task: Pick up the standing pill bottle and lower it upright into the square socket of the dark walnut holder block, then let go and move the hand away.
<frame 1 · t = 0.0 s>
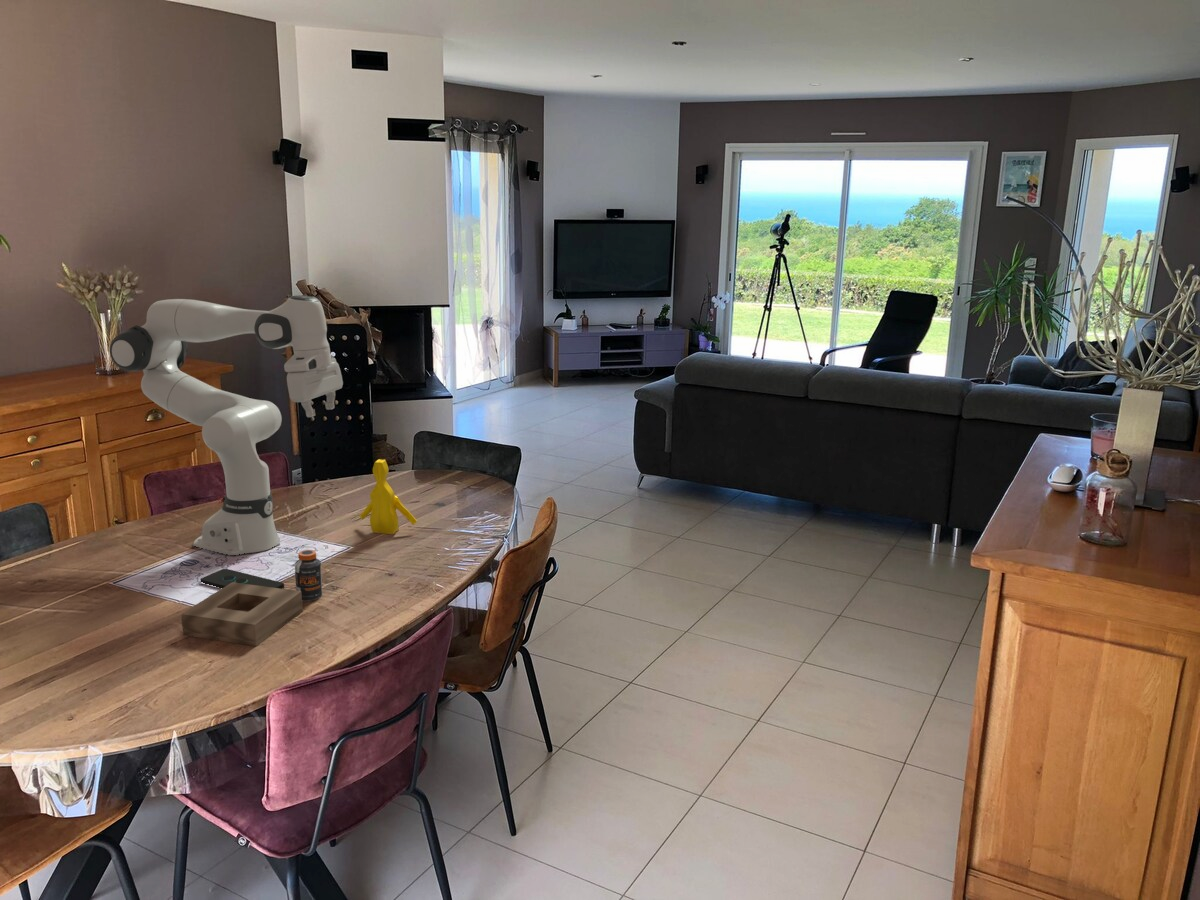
hand: (320, 412, 237), 39 cm above the table, tool pointing down, fingers open, 8 cm apart
smart home device: (242, 587, 226), on the table
pill bottle: (309, 597, 220), on the table
figure statuette: (386, 532, 264), on the table
walnut holder: (244, 622, 206), on the table
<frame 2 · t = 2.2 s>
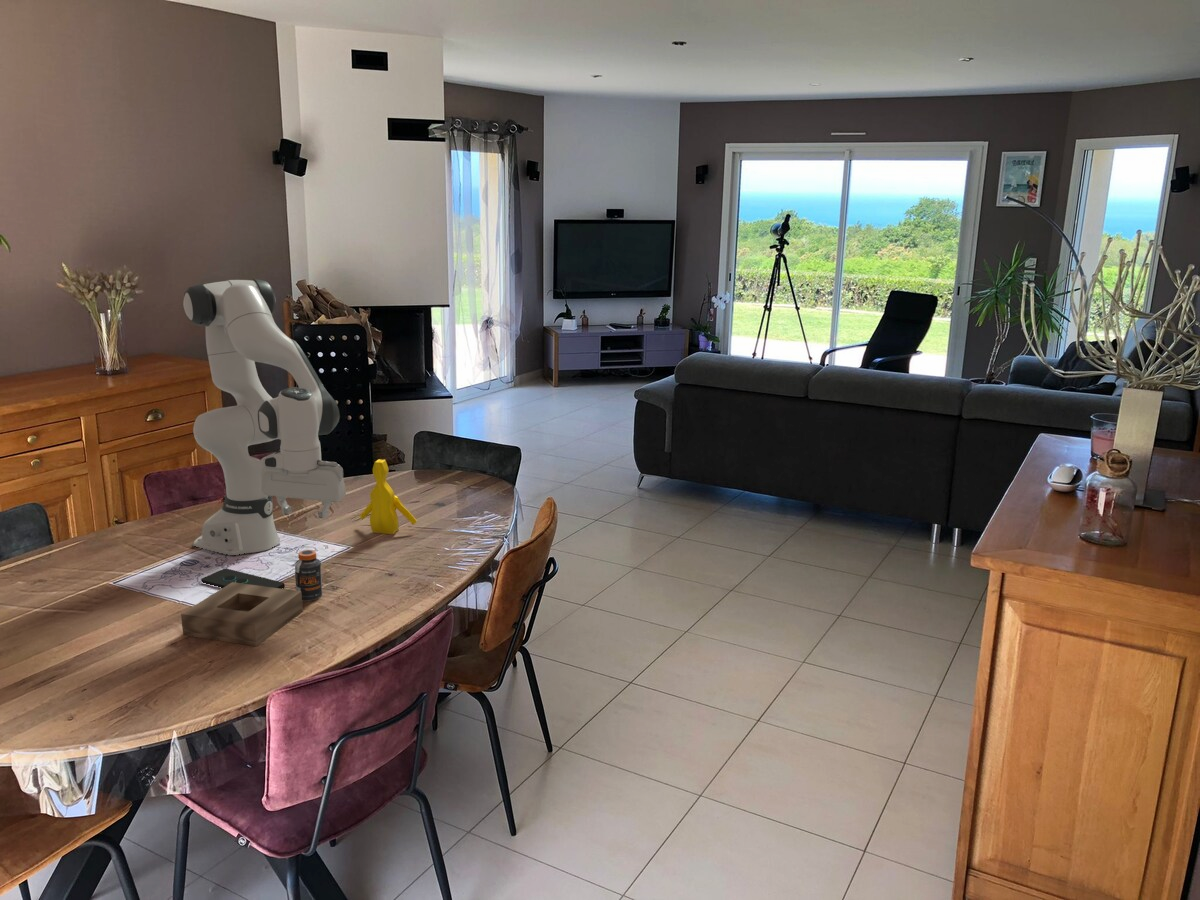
hand: (305, 516, 215), 20 cm above the table, tool pointing down, fingers open, 8 cm apart
nothing on the table moved.
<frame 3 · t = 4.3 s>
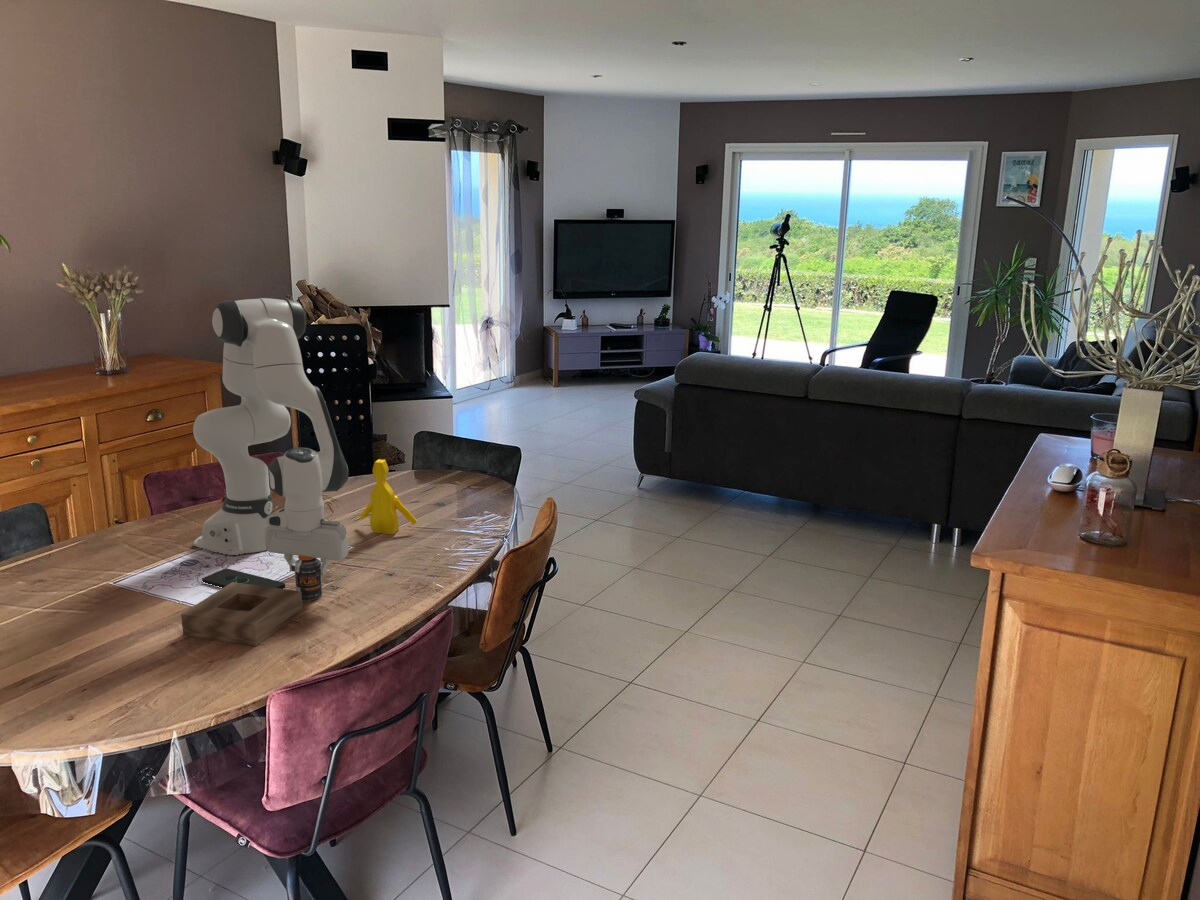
hand: (308, 572, 219), 6 cm above the table, tool pointing down, fingers closed on pill bottle, 6 cm apart
pill bottle: (309, 597, 220), on the table, touching gripper
everything else where it was.
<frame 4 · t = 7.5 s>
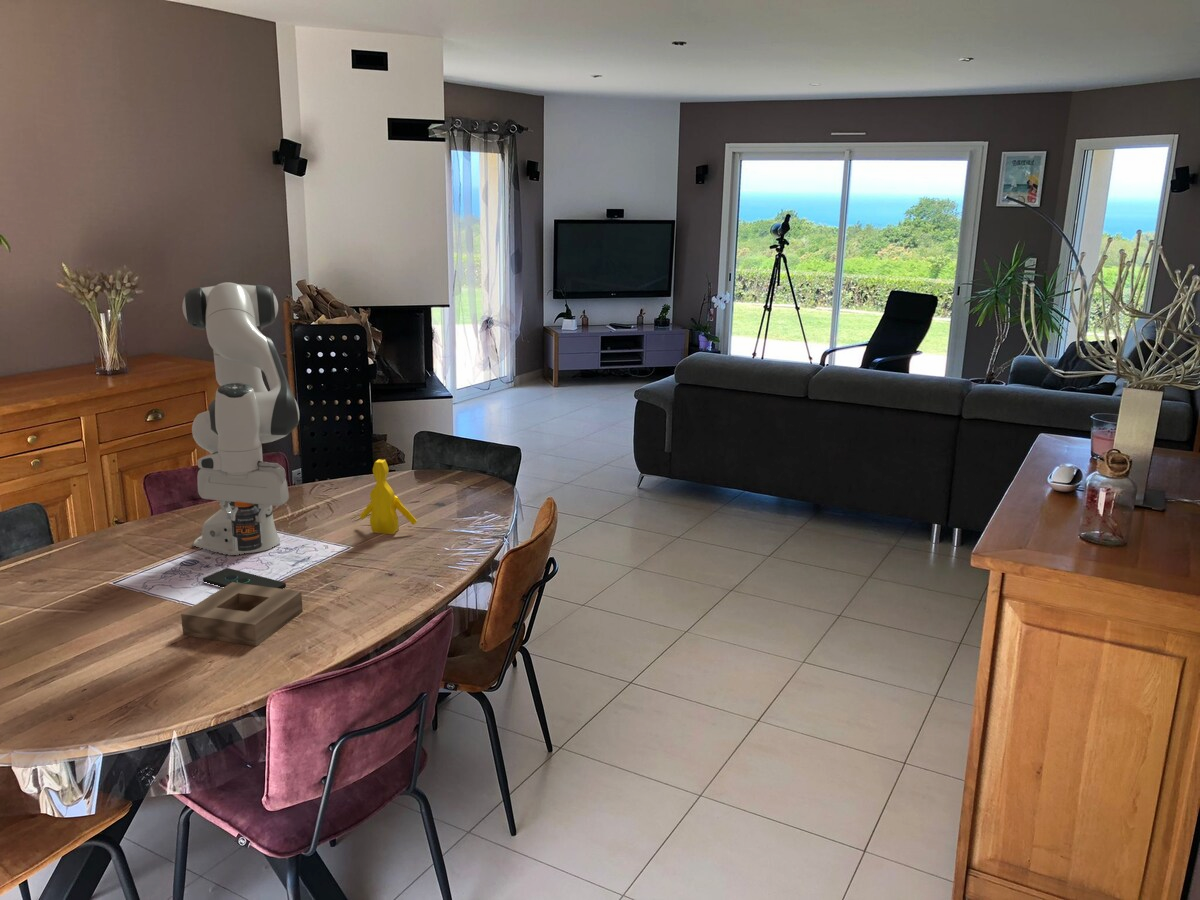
hand: (245, 520, 201), 24 cm above the table, tool pointing down, fingers closed on pill bottle, 6 cm apart
pill bottle: (248, 548, 203), point 17 cm above the table, touching gripper
everything else where it was.
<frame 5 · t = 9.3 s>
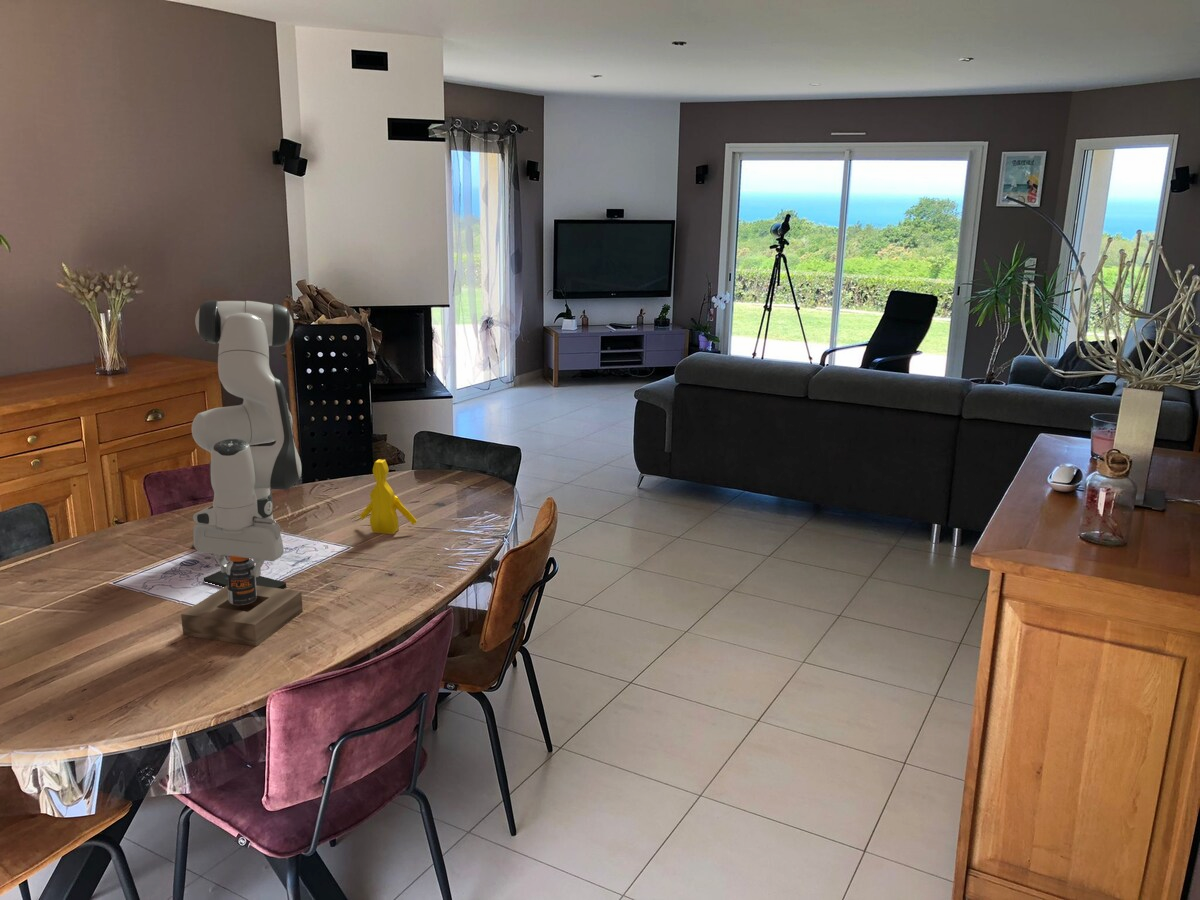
hand: (241, 574, 203), 12 cm above the table, tool pointing down, fingers closed on pill bottle, 6 cm apart
pill bottle: (243, 601, 204), point 5 cm above the table, touching gripper
everything else where it was.
when the fingers open (8 cm above the table, at t = 10.8 s): pill bottle drops 1 cm, resting on walnut holder.
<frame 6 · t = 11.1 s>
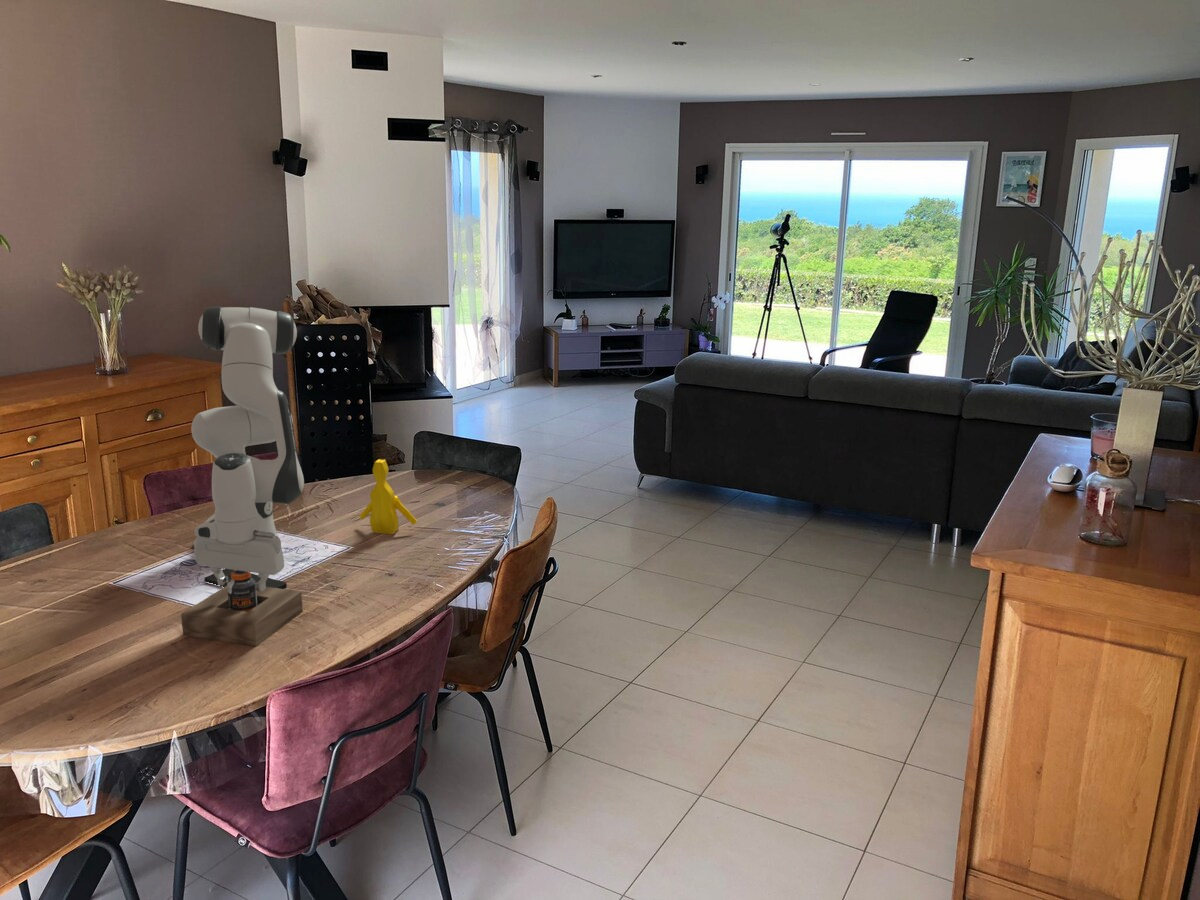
hand: (241, 587, 203), 9 cm above the table, tool pointing down, fingers open, 8 cm apart
pill bottle: (244, 619, 205), point 1 cm above the table, touching walnut holder
everything else where it was.
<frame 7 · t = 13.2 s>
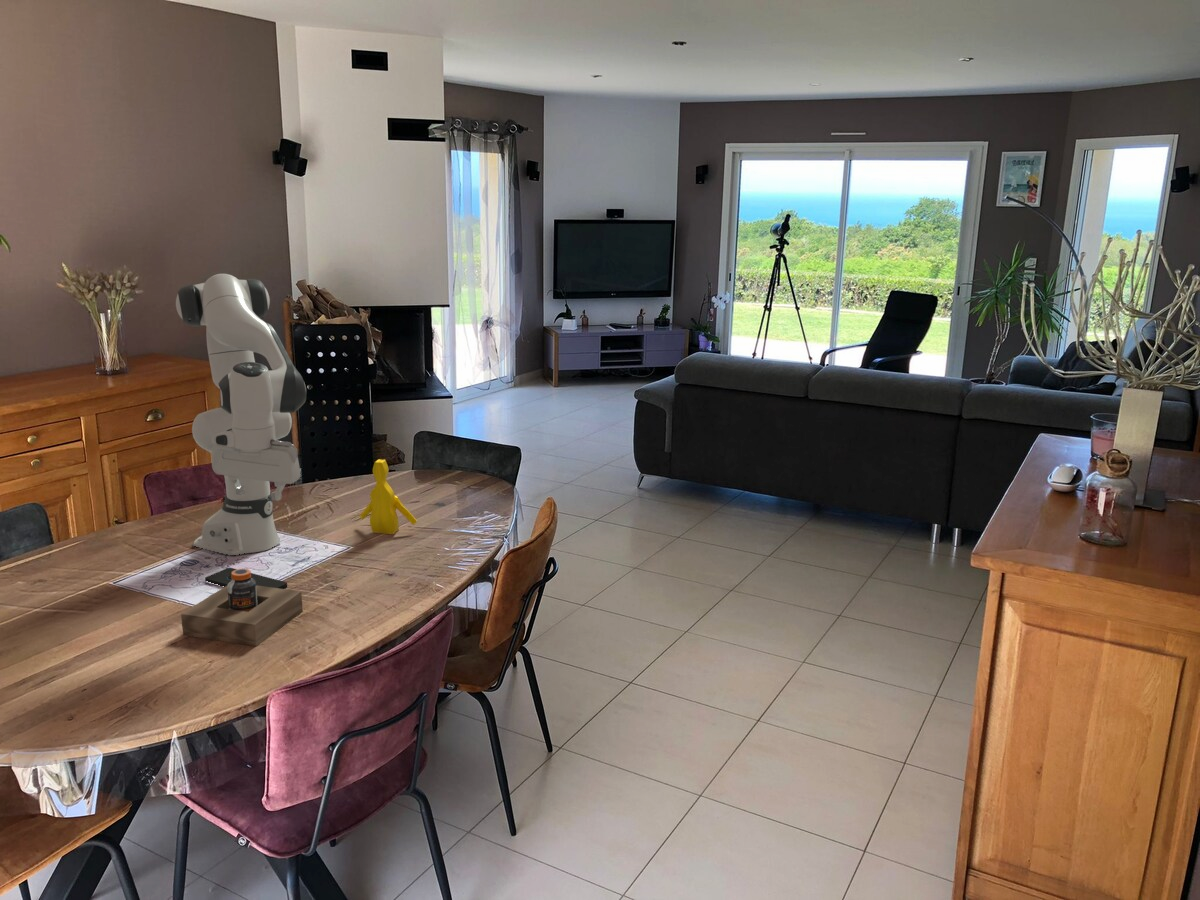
hand: (257, 497, 205), 27 cm above the table, tool pointing down, fingers open, 8 cm apart
nothing on the table moved.
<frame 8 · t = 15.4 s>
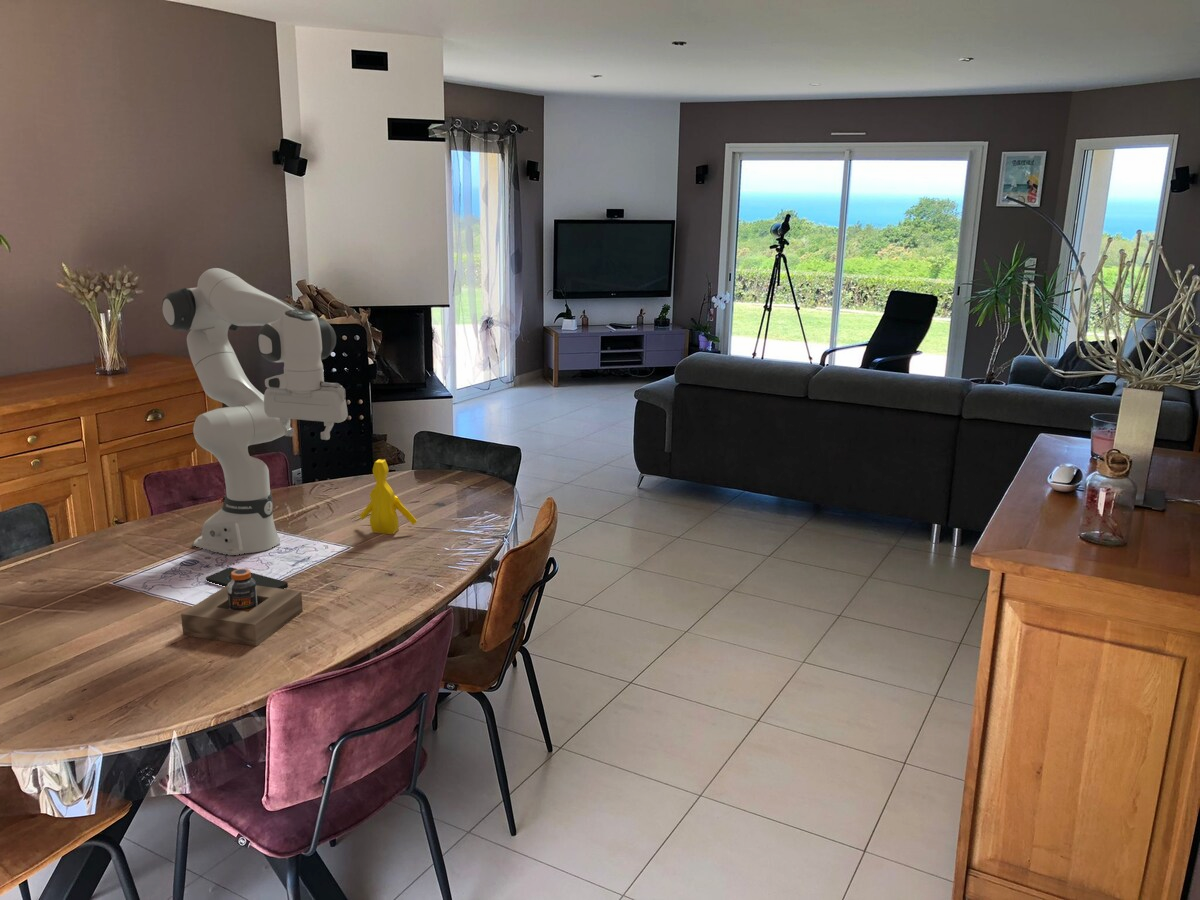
hand: (307, 437, 219), 37 cm above the table, tool pointing down, fingers open, 8 cm apart
at the end: pill bottle 0.1 cm off-centre on the walnut holder, point 0.8 cm above the walnut holder's base; pill bottle tilted 0°; the gripper is holding nothing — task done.
